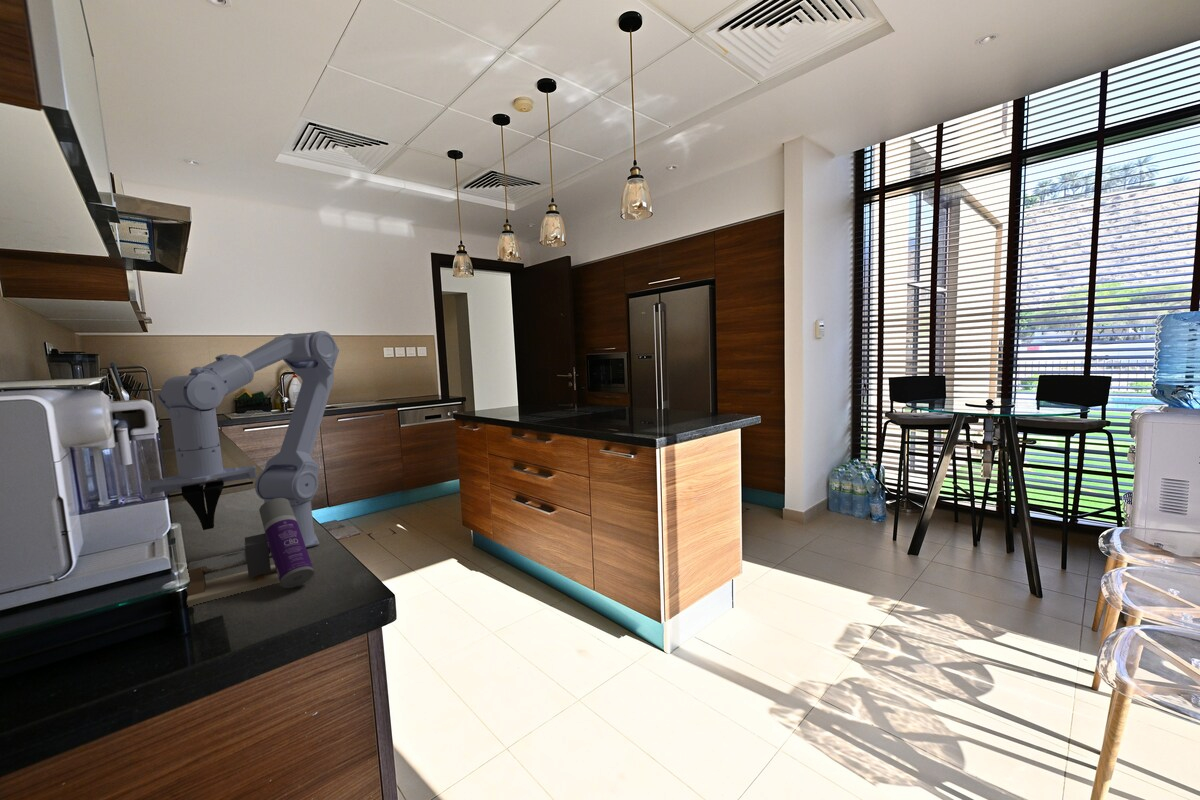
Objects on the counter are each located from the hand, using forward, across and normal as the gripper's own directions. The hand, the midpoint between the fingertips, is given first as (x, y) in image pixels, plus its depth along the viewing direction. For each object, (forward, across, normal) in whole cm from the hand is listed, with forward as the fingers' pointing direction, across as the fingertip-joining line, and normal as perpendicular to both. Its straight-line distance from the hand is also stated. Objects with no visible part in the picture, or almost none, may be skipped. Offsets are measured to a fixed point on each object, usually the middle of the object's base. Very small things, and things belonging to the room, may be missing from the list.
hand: (208, 527), depth 80 cm
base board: (+9, +4, -5) cm, 11 cm away
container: (+8, +11, -14) cm, 19 cm away
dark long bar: (+6, +4, -5) cm, 9 cm away
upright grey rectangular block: (+8, +6, -5) cm, 11 cm away
